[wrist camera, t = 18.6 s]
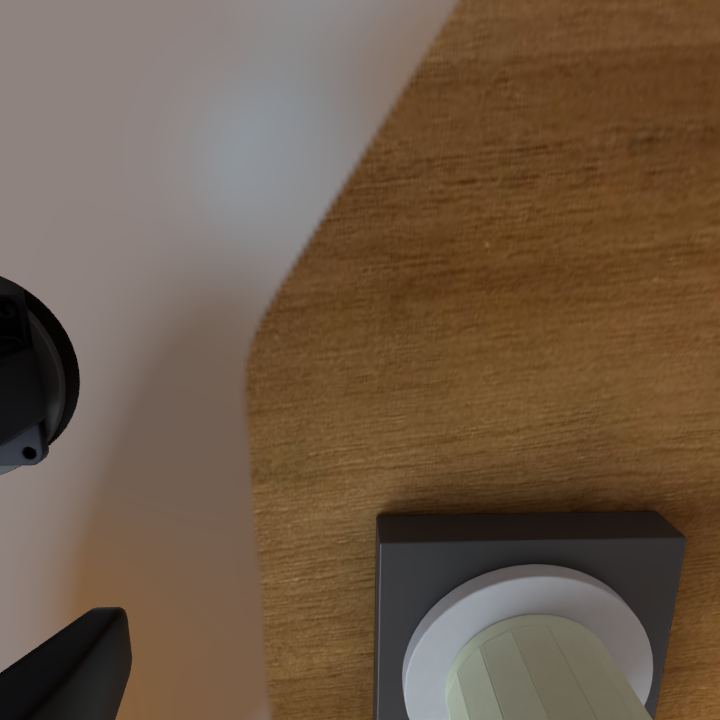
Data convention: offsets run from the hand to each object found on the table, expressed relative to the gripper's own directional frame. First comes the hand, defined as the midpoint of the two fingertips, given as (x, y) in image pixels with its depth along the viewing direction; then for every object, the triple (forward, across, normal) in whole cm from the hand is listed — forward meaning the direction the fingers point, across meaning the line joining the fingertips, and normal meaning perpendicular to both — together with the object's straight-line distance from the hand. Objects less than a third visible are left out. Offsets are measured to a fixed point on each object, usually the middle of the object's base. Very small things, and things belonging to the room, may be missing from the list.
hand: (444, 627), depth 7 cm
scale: (+13, -6, +12) cm, 19 cm away
